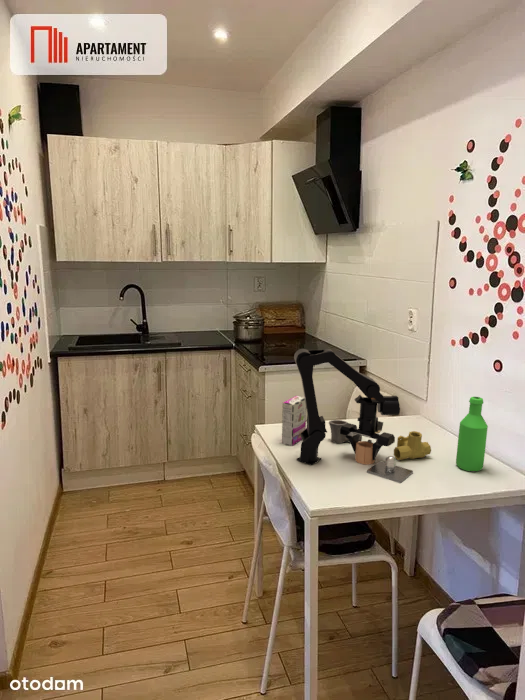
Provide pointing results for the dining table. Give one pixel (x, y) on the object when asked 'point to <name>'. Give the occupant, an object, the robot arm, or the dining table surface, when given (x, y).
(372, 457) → the robot arm
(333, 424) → the pipe
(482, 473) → the dining table surface
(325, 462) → the dining table surface
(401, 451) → the ball valve
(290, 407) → the candy bar box
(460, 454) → the bottle
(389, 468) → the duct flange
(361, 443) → the collar
